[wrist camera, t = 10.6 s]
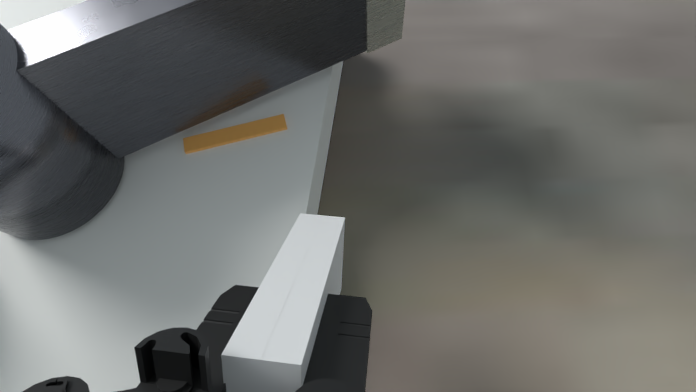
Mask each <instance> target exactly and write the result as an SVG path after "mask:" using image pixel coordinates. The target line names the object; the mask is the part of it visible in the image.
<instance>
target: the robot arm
mask: <svg viewBox="0 0 696 392" xmlns="http://www.w3.org/2000/svg"><path fill="white" fill-rule="evenodd" d="M344 229H345V217H335V216H324V215H313V214H302V213H300V215H299V217H298V218H297V220H296V222H295V224H294V226H293V227H292V229H291V231H290V233H289V235H288V236H287V238H286V240H285V242H284V243H283V245H282V247H281V249H280V251H279V252H278V254H277V256H276V258H275V260H274V261H273V263H272V265H271V267H270V269H269V270H268V272H267V274H266V276H265V277H264V279H263V281H262V283H261V285H260V286H259V287H251V286H242V285H234V286H233V287H231V288H230V289H229V290H227V291H226V292H224V293H223V294H221V295H220V296H219V298H218V299H217V301H216V302H215V303H214V305H213V306H212V308H211V311H209V312H208V314H207V315H206V316H205V318H204V321H203V322H201V324H200V325H199V327H198V328H197V329H196V330H194V329H191V328H187V327H180V328H169V329H165V330H161V331H158V332H156V333H154V334H152V335H150V336H148V337H146V338H144V339H143V340H142V341H141V342H140V343H139V344H137V345H136V346H135V347H134V348H135V354H136V360H137V366H138V371H139V377H140V383H139V385H138V386H137V387H136V388H133V389H128V390H123V391H116V392H365V385H366V374H367V364H368V353H369V341H370V329H371V318H372V310H371V308H370V306H369V304H368V302H367V300H366V298H363V297H354V296H345V295H340V292H341V287H342V267H343V248H344ZM22 392H90V391H89V387H88V384H87V383H86V382H84V381H83V380H82V379H81V378H77V377H71V376H64V377H56V378H51V379H48V380H45V381H42V382H39V383H37V384H34V385H33V386H31V387H29V388H28V389H26V390H24V391H22Z"/></svg>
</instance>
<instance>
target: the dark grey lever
mask: <svg viewBox="0 0 696 392" xmlns="http://www.w3.org/2000/svg"><path fill="white" fill-rule="evenodd" d="M404 9H405V0H87V1H84V2H82V3H79V4H76V5H74V6H71V7H68V8H65V9H63V10H60V11H57V12H55V13H52V14H49V15H47V16H44V17H41V18H39V19H36V20H33V21H31V22H28V23H25V24H23V25H20V26H17V27H15V28H12V29H9V30H7V29H6V28H5V27H3V26H2V25H1V24H0V231H1V232H4V233H6V234H9V235H12V236H14V237H17V238H21V239H27V240H43V239H50V238H54V237H58V236H61V235H64V234H66V233H69V232H71V231H73V230H75V229H77V228H79V227H81V226H82V225H84V224H85V223H87V222H88V221H90V220H91V219H92V218H93V217H95V216H96V215H97V214H98V213H99V212H100V211H101V210H102V209H103V208H104V207H105V206H106V204H107V203H108V202H109V201H110V199H111V198H112V196H113V195H114V193H115V192H116V190H117V188H118V186H119V184H120V181H121V178H122V175H123V170H124V162H125V160H124V156H126V155H128V154H131V153H133V152H135V151H138V150H140V149H142V148H144V147H147V146H149V145H151V144H154V143H156V142H158V141H160V140H163V139H165V138H167V137H170V136H172V135H174V134H177V133H179V132H181V131H183V130H186V129H188V128H190V127H193V126H195V125H197V124H199V123H202V122H204V121H206V120H209V119H211V118H213V117H216V116H218V115H220V114H222V113H225V112H227V111H229V110H232V109H234V108H236V107H238V106H241V105H243V104H245V103H248V102H250V101H252V100H255V99H257V98H259V97H261V96H264V95H266V94H268V93H271V92H273V91H275V90H277V89H280V88H282V87H284V86H287V85H289V84H291V83H293V82H296V81H298V80H300V79H303V78H305V77H307V76H310V75H312V74H314V73H316V72H319V71H321V70H323V69H326V68H328V67H330V66H332V65H335V64H337V63H339V62H342V61H344V60H346V59H349V58H351V57H353V56H355V55H358V54H360V53H362V52H365V51H366V52H367V53H370V52H372V51H374V50H376V49H379V48H381V47H383V46H386V45H388V44H390V43H392V42H395V41H397V40H399V39H402V29H403V19H404Z"/></svg>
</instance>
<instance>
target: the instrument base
mask: <svg viewBox="0 0 696 392" xmlns="http://www.w3.org/2000/svg"><path fill="white" fill-rule="evenodd" d="M84 1H87V0H0V24H1V25H2V26H3V27H5V28H6V29H7V30H9V29H12V28H15V27H17V26H20V25H23V24H25V23H28V22H31V21H33V20H36V19H39V18H41V17H44V16H47V15H49V14H52V13H55V12H57V11H60V10H63V9H65V8H68V7H71V6H74V5H76V4H79V3H82V2H84ZM342 66H343V61H342V62H339V63H337V64H335V65H332V66H330V67H328V68H326V69H323V70H321V71H319V72H316V73H314V74H312V75H310V76H307V77H305V78H303V79H300V80H298V81H296V82H293V83H291V84H289V85H287V86H284V87H282V88H280V89H277V90H275V91H273V92H271V93H268V94H266V95H264V96H261V97H259V98H257V99H255V100H252V101H250V102H248V103H245V104H243V105H241V106H238V107H236V108H234V109H232V110H229V111H227V112H225V113H222V114H220V115H218V116H216V117H213V118H211V119H209V120H206V121H204V122H202V123H199V124H197V125H195V126H193V127H190V128H188V129H186V130H183V131H181V132H179V133H177V134H174V135H172V136H170V137H167V138H165V139H163V140H160V141H158V142H156V143H154V144H151V145H149V146H147V147H144V148H142V149H140V150H138V151H135V152H133V153H131V154H128V155H126V156H124V160H125V162H124V170H123V175H122V178H121V181H120V184H119V186H118V188H117V190H116V192H115V193H114V195H113V196H112V198H111V199H110V201H109V202H108V203H107V204H106V206H105V207H104V208H103V209H102V210H101V211H100V212H99V213H98V214H97V215H96V216H95V217H93V218H92V219H91V220H90V221H88V222H87V223H85V224H84V225H82V226H81V227H79V228H77V229H75V230H73V231H71V232H69V233H66V234H64V235H61V236H58V237H54V238H50V239H43V240H27V239H21V238H17V237H14V236H12V235H9V234H6V233H4V232H1V231H0V392H22V391H24V390H26V389H28V388H29V387H31V386H33V385H34V384H37V383H39V382H42V381H45V380H48V379H51V378H56V377H64V376H71V377H77V378H81V379H82V380H83V381H84V382H86V383H87V384H88V387H89V391H90V392H116V391H123V390H128V389H133V388H136V387H137V386H138V385H139V383H140V377H139V371H138V366H137V360H136V354H135V348H134V347H135V346H136V345H137V344H139V343H140V342H141V341H142V340H143V339H144V338H146V337H148V336H150V335H152V334H154V333H156V332H158V331H161V330H165V329H169V328H180V327H187V328H191V329H194V330H196V329H197V328H198V327H199V325H200V324H201V322H203V321H204V318H205V316H206V315H207V314H208V312H209V311H211V308H212V306H213V305H214V303H215V302H216V301H217V299H218V298H219V296H220V295H221V294H223V293H224V292H226V291H227V290H229V289H230V288H231V287H233V286H234V285H242V286H251V287H259V286H260V285H261V283H262V281H263V279H264V277H265V276H266V274H267V272H268V270H269V269H270V267H271V265H272V263H273V261H274V260H275V258H276V256H277V254H278V252H279V251H280V249H281V247H282V245H283V243H284V242H285V240H286V238H287V236H288V235H289V233H290V231H291V229H292V227H293V226H294V224H295V222H296V220H297V218H298V217H299V215H300V213H302V214H313V215H317V214H318V209H319V203H320V197H321V191H322V185H323V179H324V173H325V167H326V161H327V155H328V149H329V143H330V137H331V132H332V126H333V120H334V114H335V108H336V102H337V96H338V90H339V84H340V78H341V72H342Z"/></svg>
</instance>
